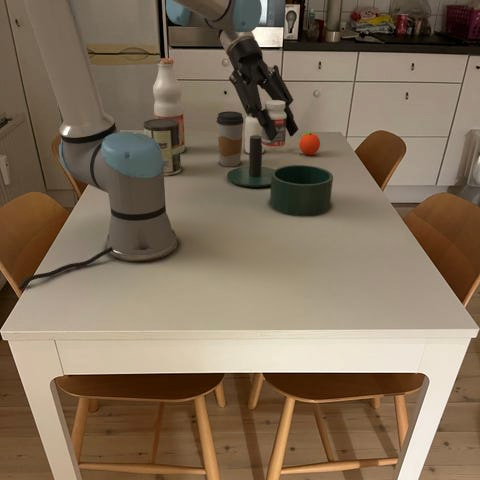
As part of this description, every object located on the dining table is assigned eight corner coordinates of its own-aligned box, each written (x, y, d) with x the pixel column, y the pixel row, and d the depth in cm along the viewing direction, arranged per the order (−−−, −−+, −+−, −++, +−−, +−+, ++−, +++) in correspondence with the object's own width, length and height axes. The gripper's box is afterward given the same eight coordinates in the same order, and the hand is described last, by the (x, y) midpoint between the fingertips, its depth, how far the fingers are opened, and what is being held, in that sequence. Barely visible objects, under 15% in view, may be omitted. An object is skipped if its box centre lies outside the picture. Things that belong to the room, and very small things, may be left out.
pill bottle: (276, 150, 120) (278, 106, 115) (256, 146, 123) (257, 102, 118) (289, 145, 124) (292, 101, 119) (270, 141, 127) (271, 98, 121)
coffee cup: (248, 162, 164) (249, 113, 156) (234, 169, 159) (234, 118, 150) (226, 157, 168) (226, 109, 160) (211, 164, 162) (210, 114, 154)
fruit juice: (151, 151, 173) (143, 59, 157) (171, 145, 179) (166, 56, 163) (170, 156, 168) (164, 62, 153) (190, 150, 174) (186, 59, 158)
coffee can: (171, 163, 163) (168, 116, 155) (187, 172, 156) (185, 124, 148) (141, 168, 158) (137, 120, 150) (156, 178, 151) (152, 128, 143)
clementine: (291, 154, 172) (293, 132, 168) (301, 149, 177) (303, 128, 173) (312, 159, 168) (315, 136, 164) (322, 153, 173) (324, 132, 169)
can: (264, 155, 171) (265, 117, 164) (244, 154, 171) (245, 117, 164) (263, 149, 177) (265, 112, 170) (244, 149, 177) (245, 112, 170)
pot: (323, 219, 128) (327, 188, 123) (263, 211, 132) (264, 181, 127) (333, 197, 140) (337, 168, 136) (278, 190, 144) (279, 162, 139)
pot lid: (275, 191, 143) (277, 147, 136) (219, 185, 147) (218, 141, 140) (288, 173, 156) (291, 132, 149) (236, 167, 160) (237, 127, 153)
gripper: (215, 39, 113) (261, 132, 111) (279, 34, 122) (321, 119, 121) (203, 62, 119) (245, 150, 118) (264, 56, 129) (304, 137, 127)
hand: (284, 134), depth 119 cm, fingers closed on pill bottle, 6 cm apart
